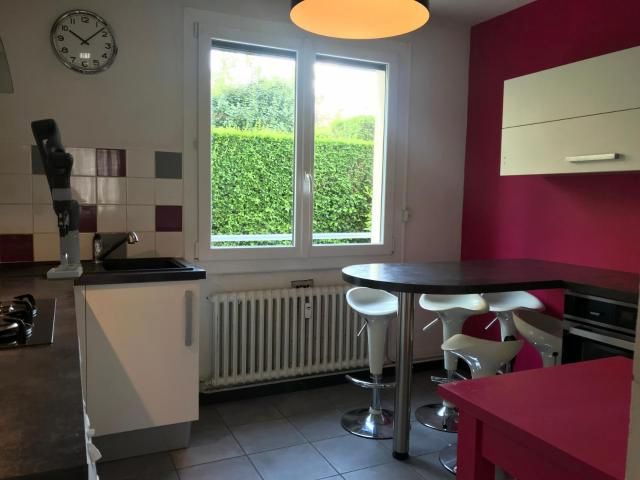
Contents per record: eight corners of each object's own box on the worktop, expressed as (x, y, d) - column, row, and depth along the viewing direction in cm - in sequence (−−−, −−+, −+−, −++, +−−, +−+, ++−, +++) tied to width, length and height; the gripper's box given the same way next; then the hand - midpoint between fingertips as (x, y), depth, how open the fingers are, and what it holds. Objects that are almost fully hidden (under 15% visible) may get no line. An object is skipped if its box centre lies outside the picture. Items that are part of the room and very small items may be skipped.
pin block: (60, 271, 247) (60, 264, 246) (81, 271, 250) (81, 263, 249) (57, 275, 238) (56, 267, 238) (78, 274, 241) (78, 266, 241)
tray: (52, 275, 237) (52, 268, 236) (82, 274, 240) (82, 267, 240) (47, 280, 225) (46, 272, 224) (78, 279, 229) (78, 271, 228)
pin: (62, 275, 233) (61, 252, 232) (68, 274, 234) (67, 252, 233) (61, 276, 231) (60, 253, 230) (68, 275, 232) (67, 253, 231)
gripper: (55, 198, 234) (57, 234, 236) (49, 199, 221) (51, 238, 223) (73, 198, 236) (75, 233, 238) (69, 199, 223) (71, 237, 225)
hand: (64, 235), depth 231 cm, fingers open, 8 cm apart
